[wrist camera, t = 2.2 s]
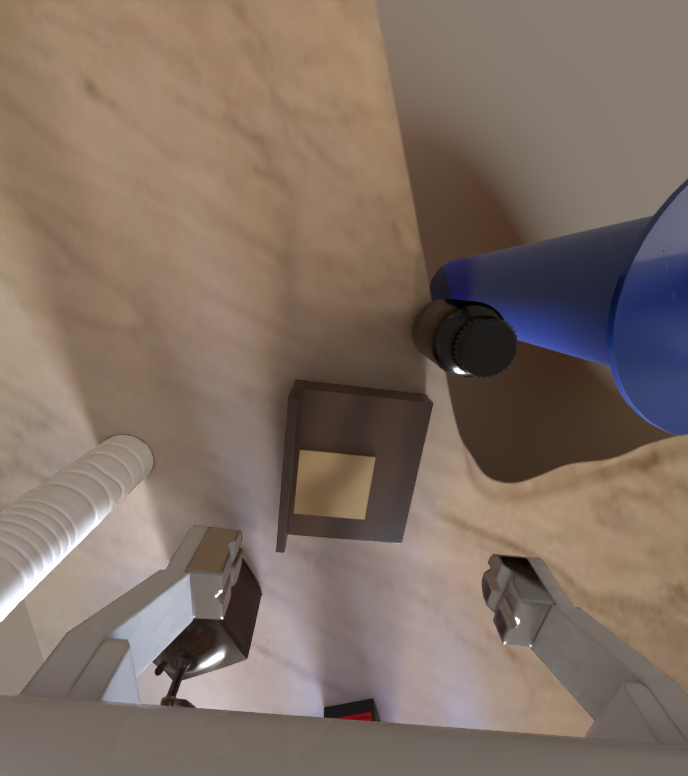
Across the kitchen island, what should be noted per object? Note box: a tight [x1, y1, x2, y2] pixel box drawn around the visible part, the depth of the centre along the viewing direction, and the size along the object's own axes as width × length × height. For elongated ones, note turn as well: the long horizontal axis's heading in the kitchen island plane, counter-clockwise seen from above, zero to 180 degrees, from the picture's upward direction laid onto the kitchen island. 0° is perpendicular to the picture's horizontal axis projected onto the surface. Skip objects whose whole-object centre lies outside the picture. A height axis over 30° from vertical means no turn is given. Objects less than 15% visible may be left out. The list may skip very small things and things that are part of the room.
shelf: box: [276, 380, 433, 553], centre depth 38 cm, size 16×20×6 cm
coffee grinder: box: [153, 558, 262, 708], centre depth 39 cm, size 16×11×18 cm
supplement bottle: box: [412, 299, 518, 377], centre depth 31 cm, size 7×7×12 cm
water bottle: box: [0, 435, 154, 622], centre depth 28 cm, size 9×6×25 cm
